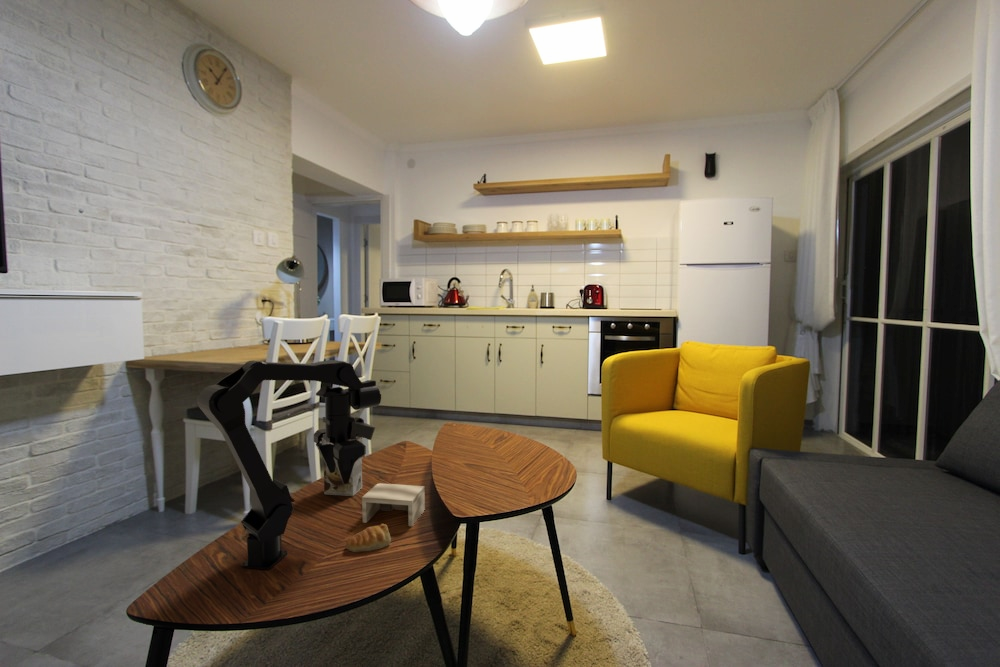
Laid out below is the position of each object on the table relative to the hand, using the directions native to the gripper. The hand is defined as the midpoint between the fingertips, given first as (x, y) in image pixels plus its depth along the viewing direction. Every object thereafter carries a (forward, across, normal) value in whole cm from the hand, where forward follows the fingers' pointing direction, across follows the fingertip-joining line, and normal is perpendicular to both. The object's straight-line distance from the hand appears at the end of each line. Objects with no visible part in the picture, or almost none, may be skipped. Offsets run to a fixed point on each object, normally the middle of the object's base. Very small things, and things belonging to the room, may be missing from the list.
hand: (338, 477), depth 107 cm
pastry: (+13, -11, -3) cm, 18 cm away
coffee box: (+13, +22, -9) cm, 27 cm away
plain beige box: (+12, -2, -13) cm, 18 cm away
